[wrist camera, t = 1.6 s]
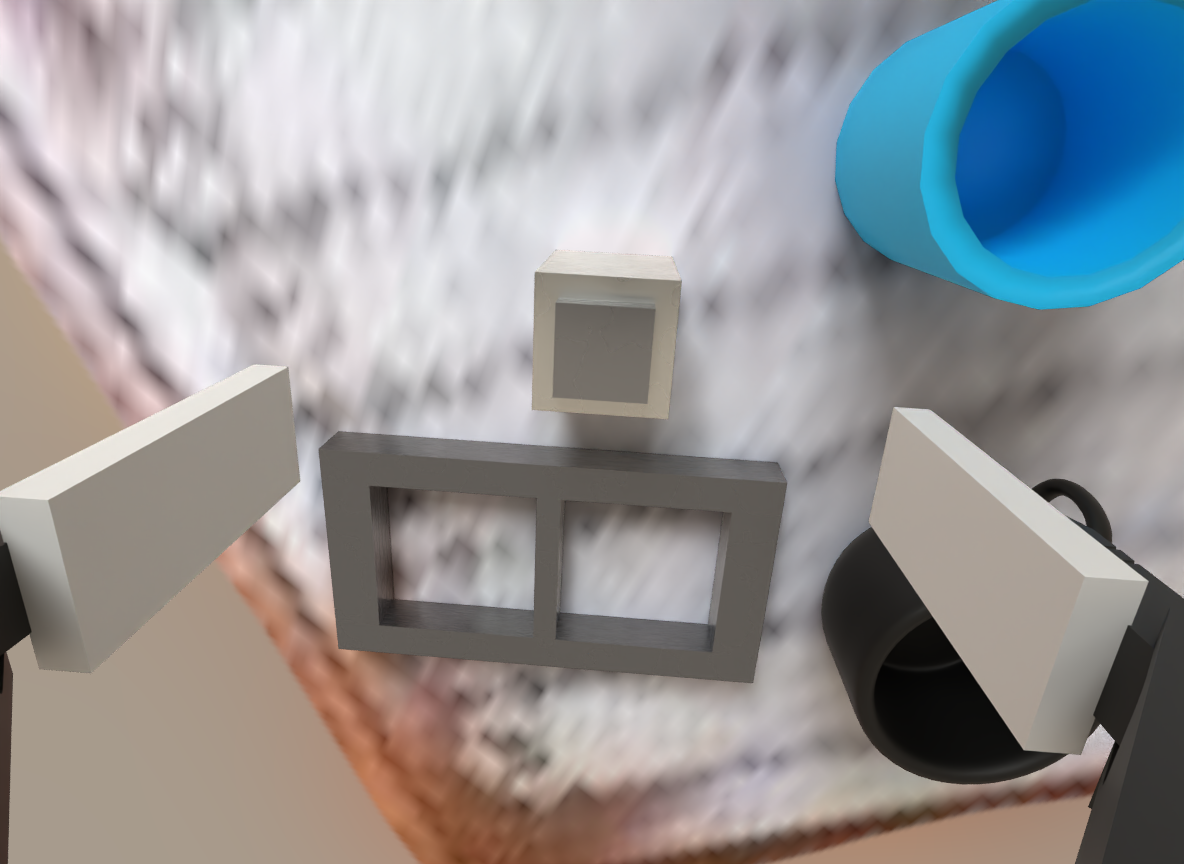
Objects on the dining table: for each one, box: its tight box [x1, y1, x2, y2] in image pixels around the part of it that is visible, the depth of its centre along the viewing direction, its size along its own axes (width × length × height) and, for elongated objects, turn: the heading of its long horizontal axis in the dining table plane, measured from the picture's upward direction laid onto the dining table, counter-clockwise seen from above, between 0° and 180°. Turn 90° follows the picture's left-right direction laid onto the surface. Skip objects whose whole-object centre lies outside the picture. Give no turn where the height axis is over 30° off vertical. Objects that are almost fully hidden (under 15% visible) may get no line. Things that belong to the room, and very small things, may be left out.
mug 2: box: [822, 479, 1112, 784], centre depth 27 cm, size 12×9×7 cm
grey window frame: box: [319, 431, 787, 683], centre depth 31 cm, size 10×19×2 cm, turn 87°
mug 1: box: [835, 0, 1184, 310], centre depth 20 cm, size 12×8×8 cm
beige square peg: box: [532, 250, 682, 419], centre depth 24 cm, size 4×4×7 cm
